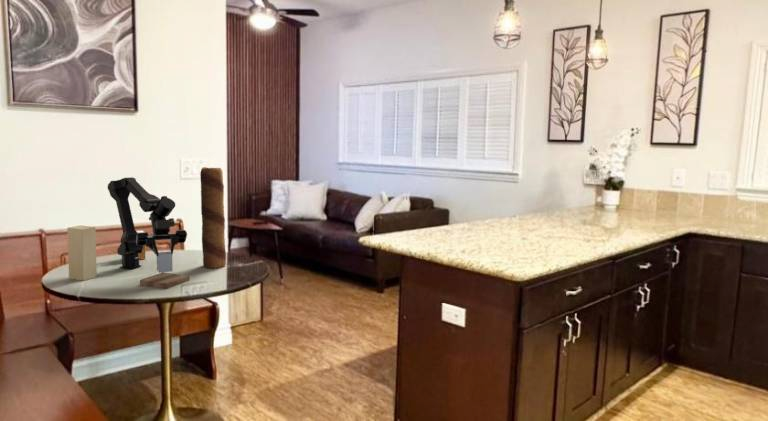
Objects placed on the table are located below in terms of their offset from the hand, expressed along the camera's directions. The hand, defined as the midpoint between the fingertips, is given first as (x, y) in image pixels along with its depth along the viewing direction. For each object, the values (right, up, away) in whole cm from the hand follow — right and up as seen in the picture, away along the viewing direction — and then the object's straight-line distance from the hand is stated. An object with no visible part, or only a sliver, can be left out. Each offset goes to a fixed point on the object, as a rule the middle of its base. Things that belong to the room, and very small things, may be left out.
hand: (165, 255), depth 213 cm
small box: (-31, -5, +41) cm, 51 cm away
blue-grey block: (-1, -6, +2) cm, 7 cm away
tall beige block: (-36, -10, +6) cm, 37 cm away
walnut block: (-1, -11, +3) cm, 12 cm away
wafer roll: (+9, -8, +32) cm, 34 cm away
